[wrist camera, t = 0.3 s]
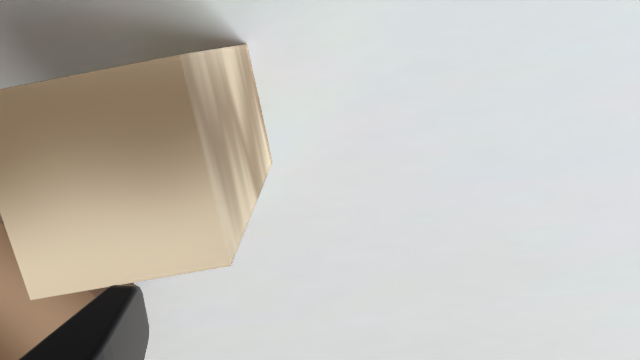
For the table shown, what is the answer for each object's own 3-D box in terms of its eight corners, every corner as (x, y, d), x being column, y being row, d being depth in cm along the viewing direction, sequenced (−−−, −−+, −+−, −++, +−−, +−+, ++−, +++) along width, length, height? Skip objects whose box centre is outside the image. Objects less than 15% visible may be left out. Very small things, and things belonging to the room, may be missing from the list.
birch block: (272, 162, 24) (230, 265, 13) (159, 183, 24) (30, 300, 14) (247, 43, 23) (179, 54, 12) (128, 67, 23) (-41, 96, 12)
